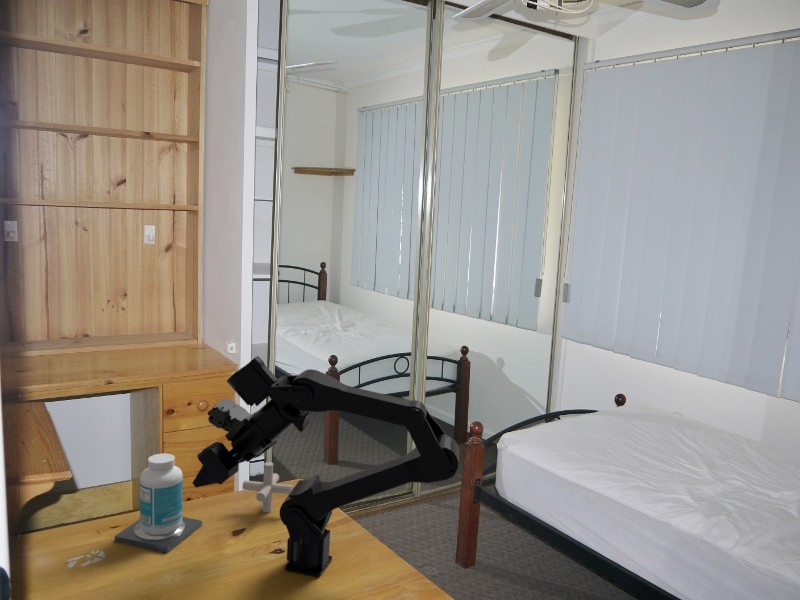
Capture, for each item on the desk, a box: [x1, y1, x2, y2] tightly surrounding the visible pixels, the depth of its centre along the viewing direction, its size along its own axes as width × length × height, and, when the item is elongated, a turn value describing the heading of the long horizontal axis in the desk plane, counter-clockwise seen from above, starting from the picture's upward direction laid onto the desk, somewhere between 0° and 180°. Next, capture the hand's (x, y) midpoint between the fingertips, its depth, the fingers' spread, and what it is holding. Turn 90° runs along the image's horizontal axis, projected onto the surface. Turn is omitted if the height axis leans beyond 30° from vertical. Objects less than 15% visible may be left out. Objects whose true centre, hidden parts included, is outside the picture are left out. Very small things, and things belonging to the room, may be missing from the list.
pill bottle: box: [139, 453, 184, 535], centre depth 123 cm, size 8×7×14 cm
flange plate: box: [114, 516, 203, 554], centre depth 124 cm, size 11×11×1 cm
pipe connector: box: [242, 461, 294, 514], centre depth 135 cm, size 10×10×10 cm
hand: (208, 475), depth 119 cm, fingers open, 9 cm apart
